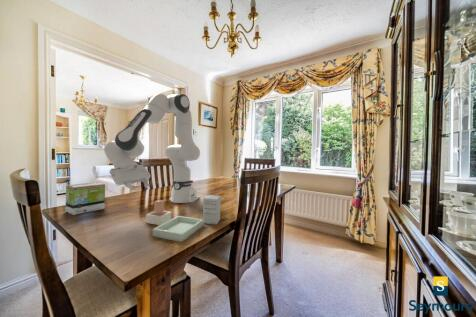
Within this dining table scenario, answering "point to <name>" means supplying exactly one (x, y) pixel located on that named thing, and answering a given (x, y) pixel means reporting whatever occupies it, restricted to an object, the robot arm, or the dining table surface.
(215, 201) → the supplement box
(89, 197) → the tea box
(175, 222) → the tray
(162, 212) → the terracotta jar
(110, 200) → the dining table surface
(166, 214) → the white square dish
